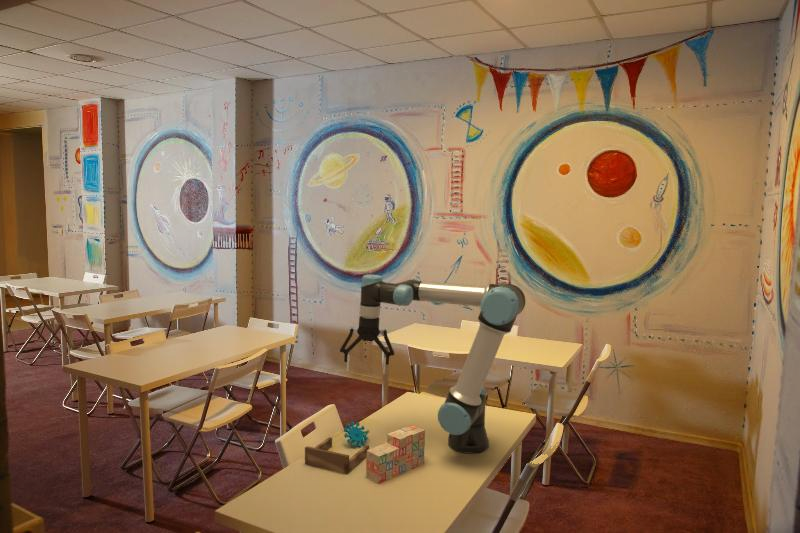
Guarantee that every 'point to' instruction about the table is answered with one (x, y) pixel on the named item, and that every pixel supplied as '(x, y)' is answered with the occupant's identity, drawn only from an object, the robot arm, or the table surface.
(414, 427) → the stack of blocks
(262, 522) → the table surface
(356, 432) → the gear
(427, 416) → the table surface
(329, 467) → the wooden u-shaped enclosure
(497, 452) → the table surface
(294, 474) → the table surface
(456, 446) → the robot arm
